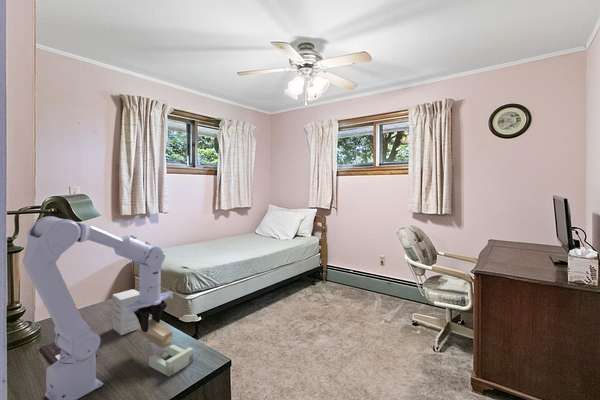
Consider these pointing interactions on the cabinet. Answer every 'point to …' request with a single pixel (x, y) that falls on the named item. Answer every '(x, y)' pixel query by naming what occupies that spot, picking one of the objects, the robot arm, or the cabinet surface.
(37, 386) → the cabinet surface
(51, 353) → the chocolate bar
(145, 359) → the cabinet surface
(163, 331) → the tan wooden block
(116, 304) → the supplement box
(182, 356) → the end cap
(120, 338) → the cabinet surface
